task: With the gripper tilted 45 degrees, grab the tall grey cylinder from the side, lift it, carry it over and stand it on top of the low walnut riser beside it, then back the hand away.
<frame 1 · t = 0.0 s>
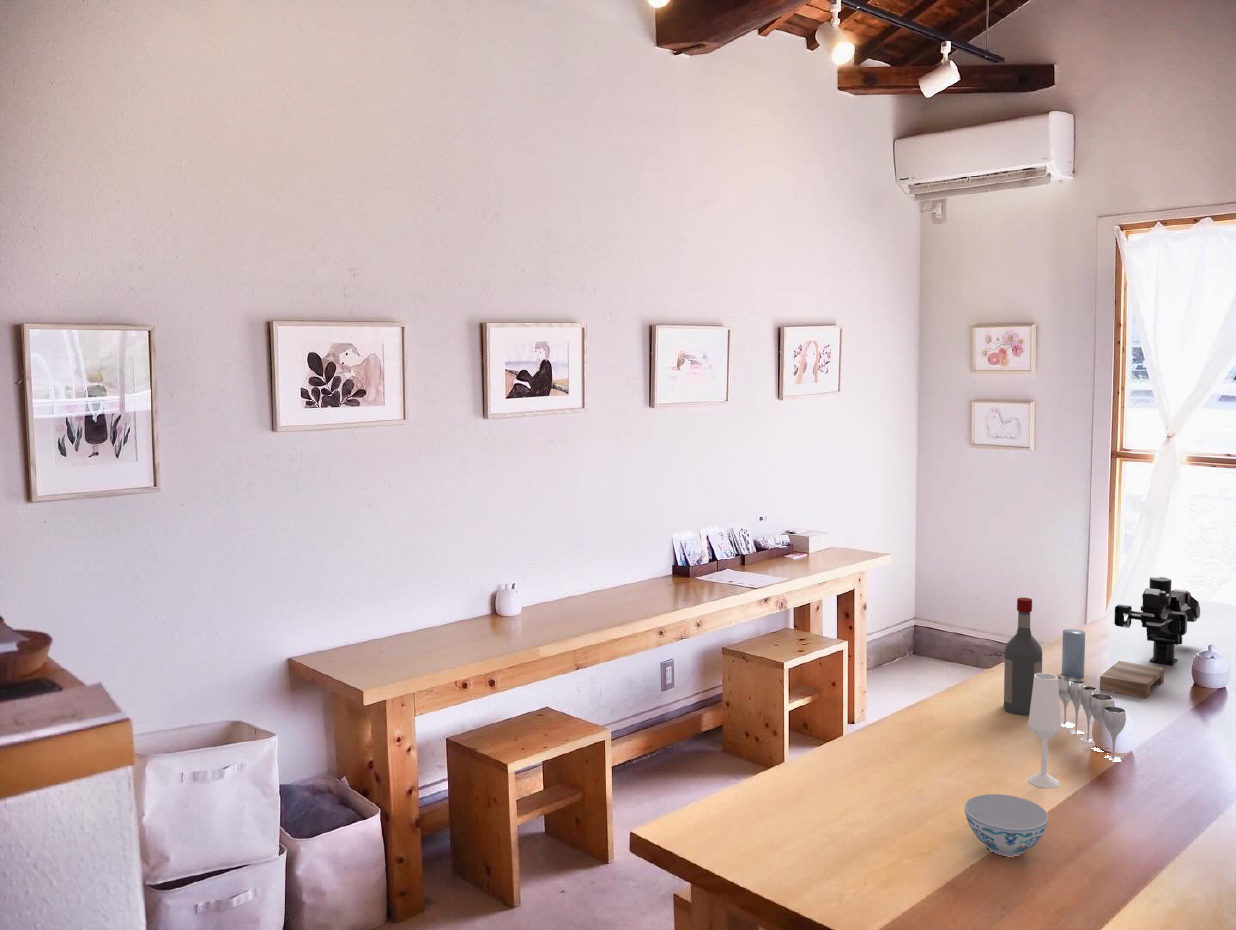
hand: (1142, 625, 290), 17 cm above the table, tool horizontal, fingers open, 9 cm apart
goblet set: (1087, 741, 250), on the table
liquor: (1022, 710, 272), on the table
champagne flute: (1043, 782, 226), on the table
chinaware: (1005, 850, 196), on the table
riser: (1132, 685, 289), on the table
tall grey cylinder: (1072, 675, 299), on the table
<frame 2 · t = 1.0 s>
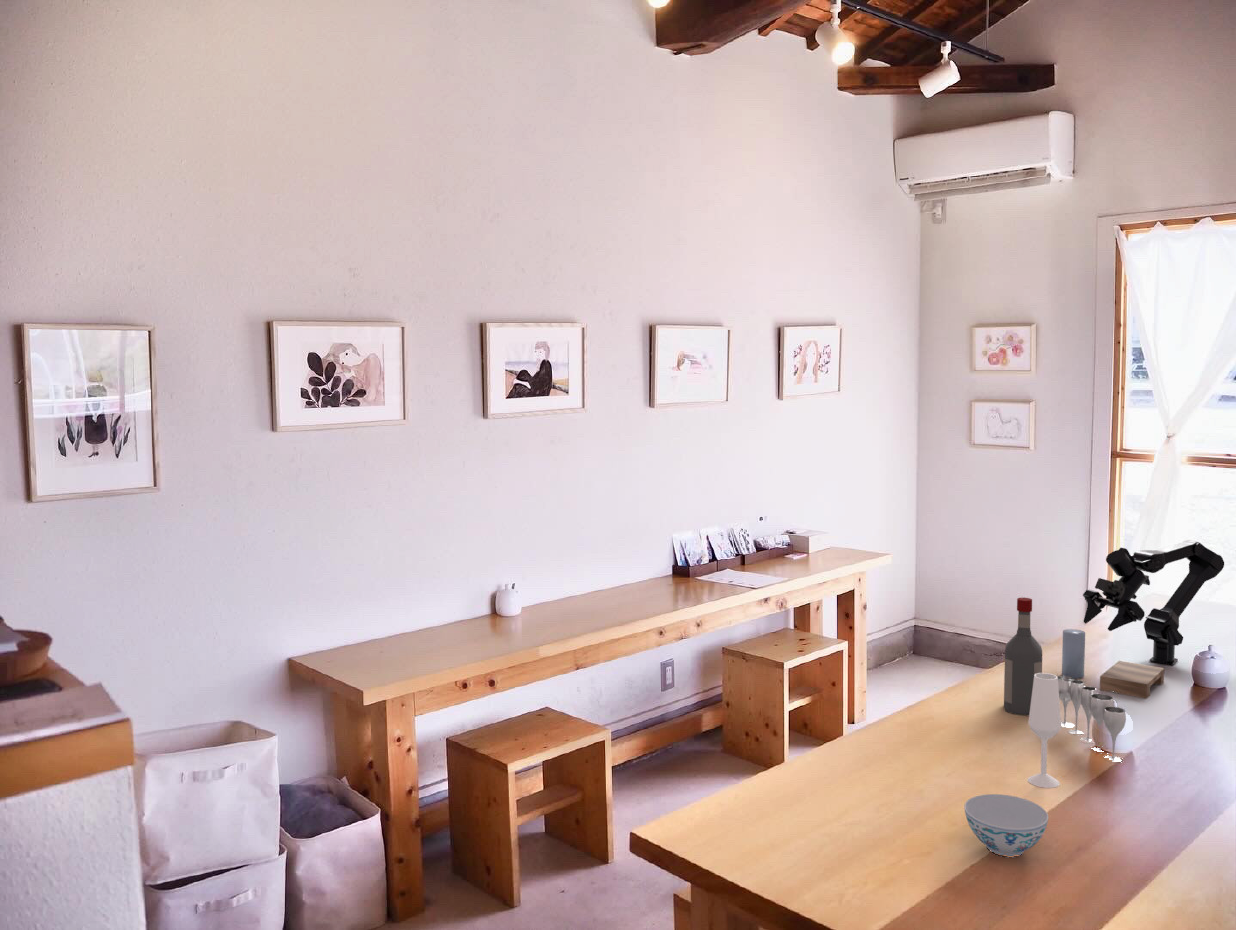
hand: (1096, 626, 300), 14 cm above the table, tool tilted 45°, fingers open, 9 cm apart
nothing on the table moved.
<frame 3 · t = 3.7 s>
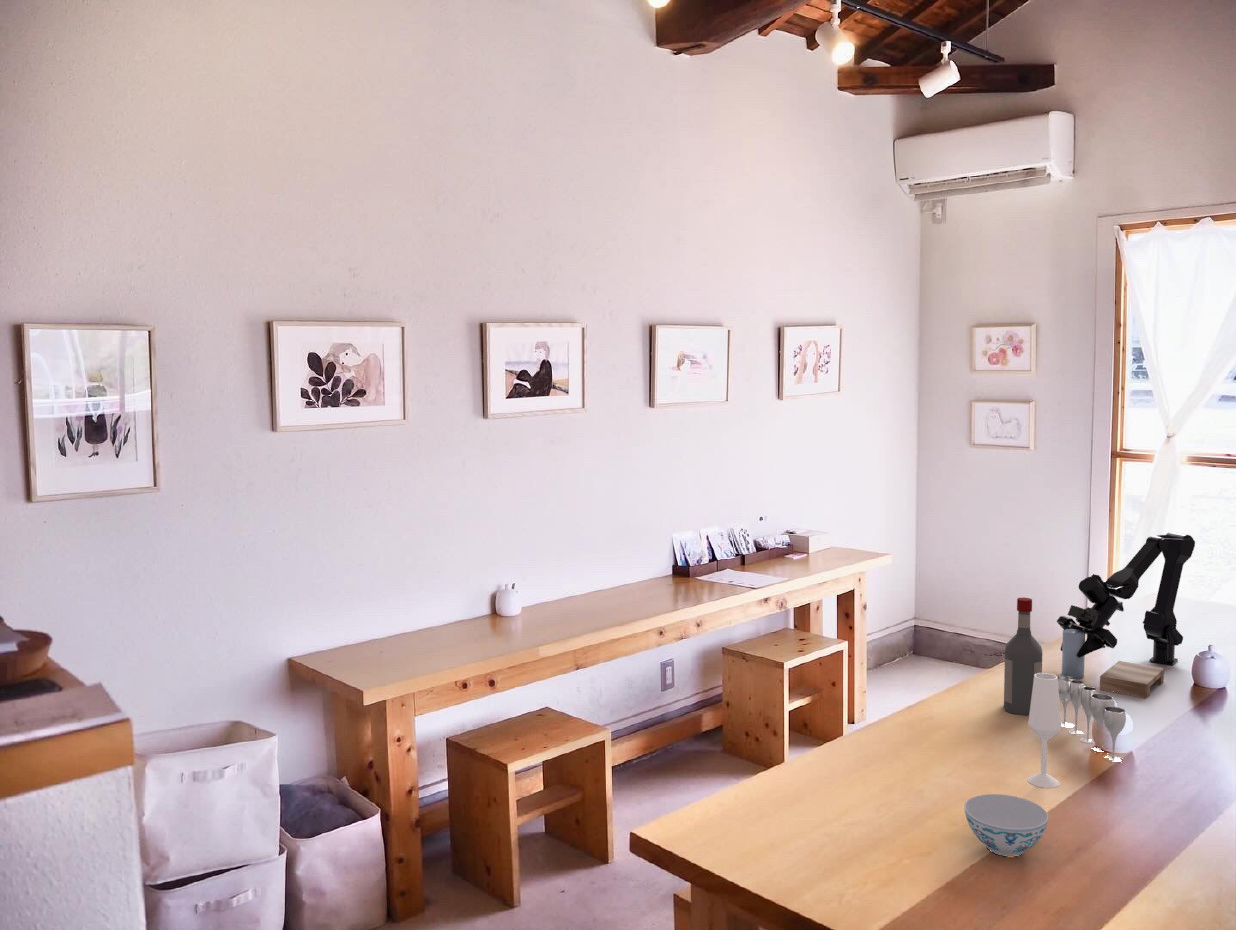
hand: (1069, 653, 298), 7 cm above the table, tool tilted 45°, fingers closed on tall grey cylinder, 6 cm apart
tall grey cylinder: (1072, 675, 299), on the table, touching gripper
everything else where it was.
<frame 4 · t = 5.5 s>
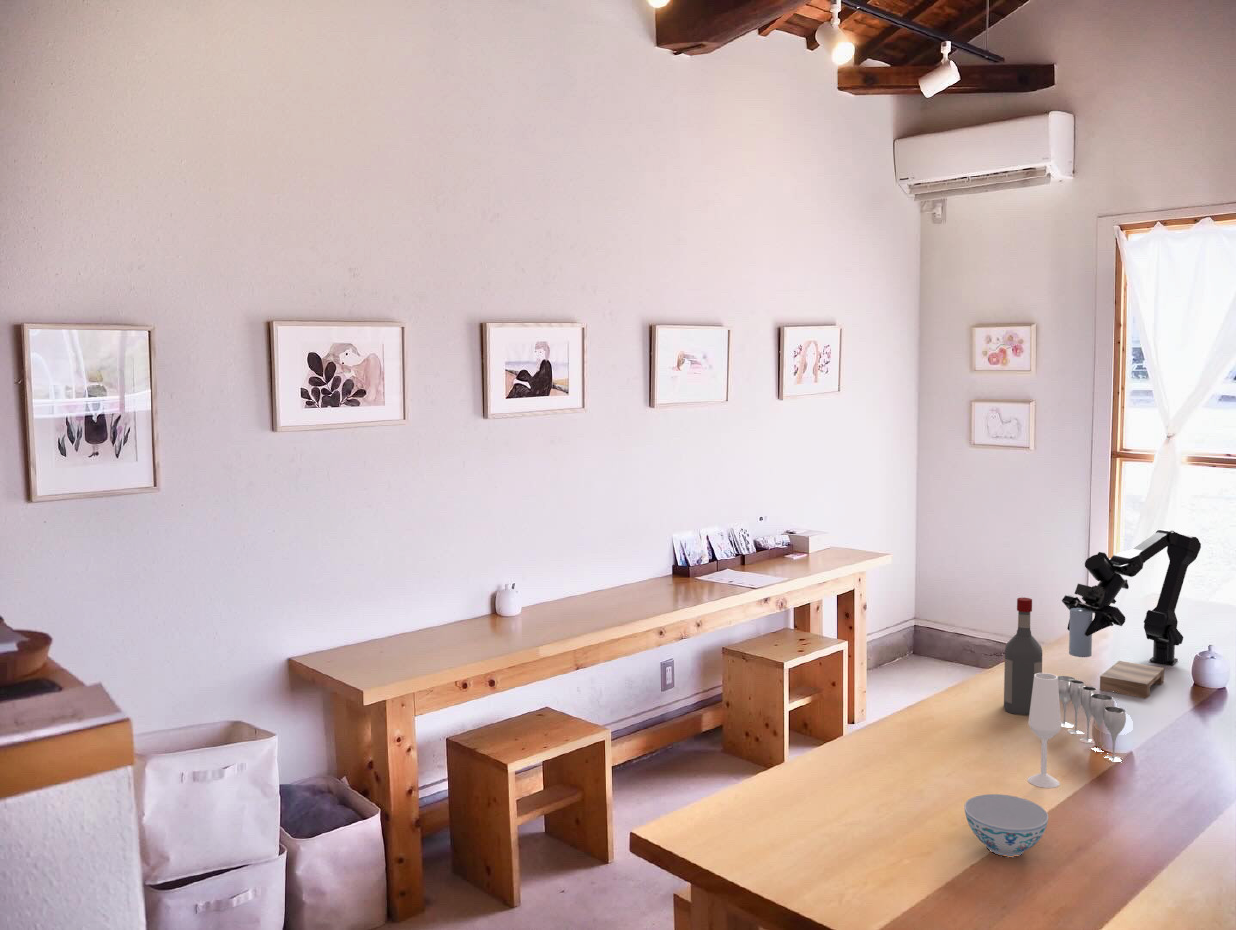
hand: (1077, 632, 296), 13 cm above the table, tool tilted 45°, fingers closed on tall grey cylinder, 6 cm apart
tall grey cylinder: (1080, 654, 297), point 7 cm above the table, touching gripper
everything else where it was.
when the fingers open (12 cm above the table, at t = 7.3 s): tall grey cylinder drops 1 cm, resting on riser.
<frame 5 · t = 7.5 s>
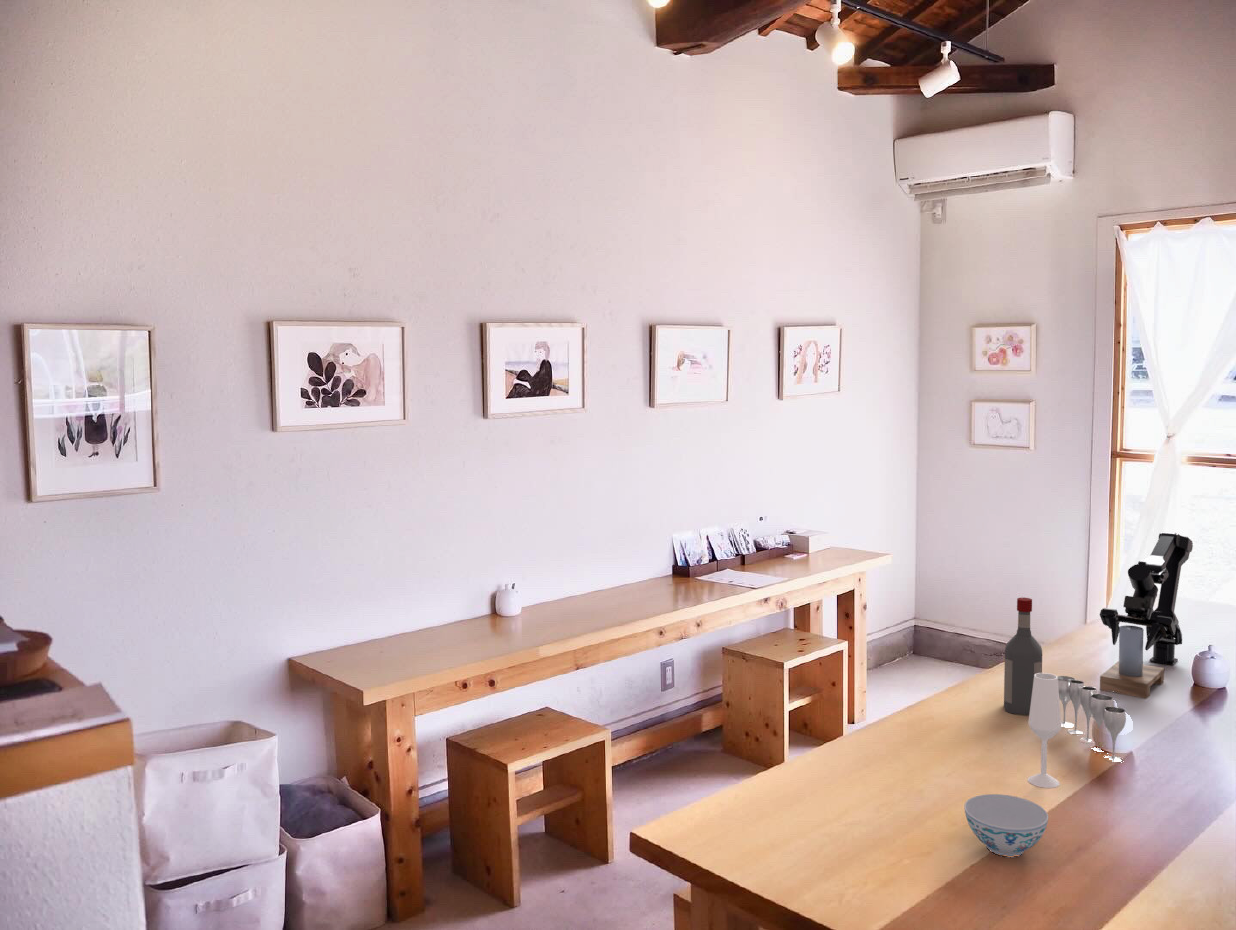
hand: (1129, 646, 285), 12 cm above the table, tool tilted 45°, fingers open, 8 cm apart
tall grey cylinder: (1130, 673, 287), point 4 cm above the table, touching riser
everything else where it was.
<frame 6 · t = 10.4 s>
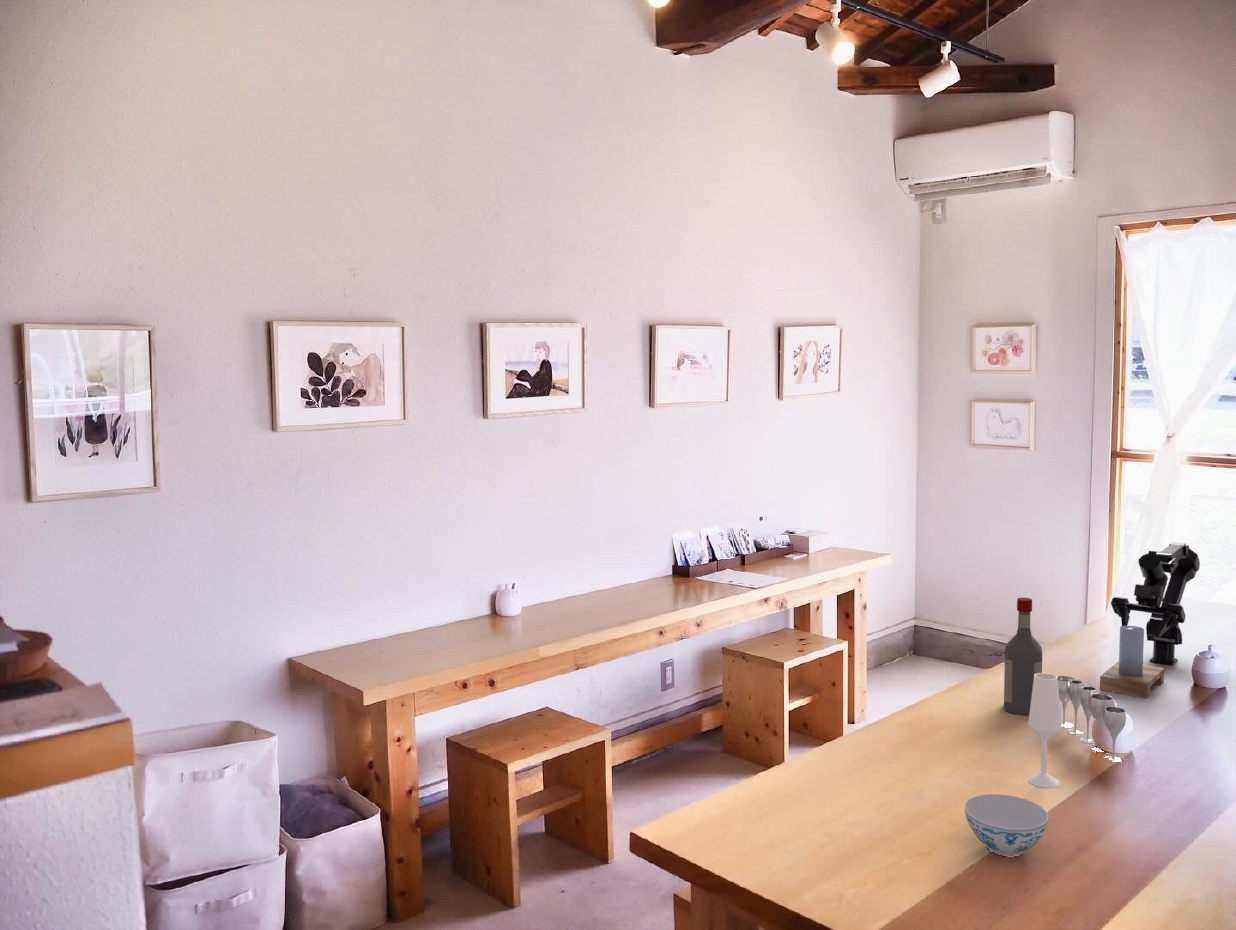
hand: (1140, 634, 292), 14 cm above the table, tool tilted 45°, fingers open, 9 cm apart
nothing on the table moved.
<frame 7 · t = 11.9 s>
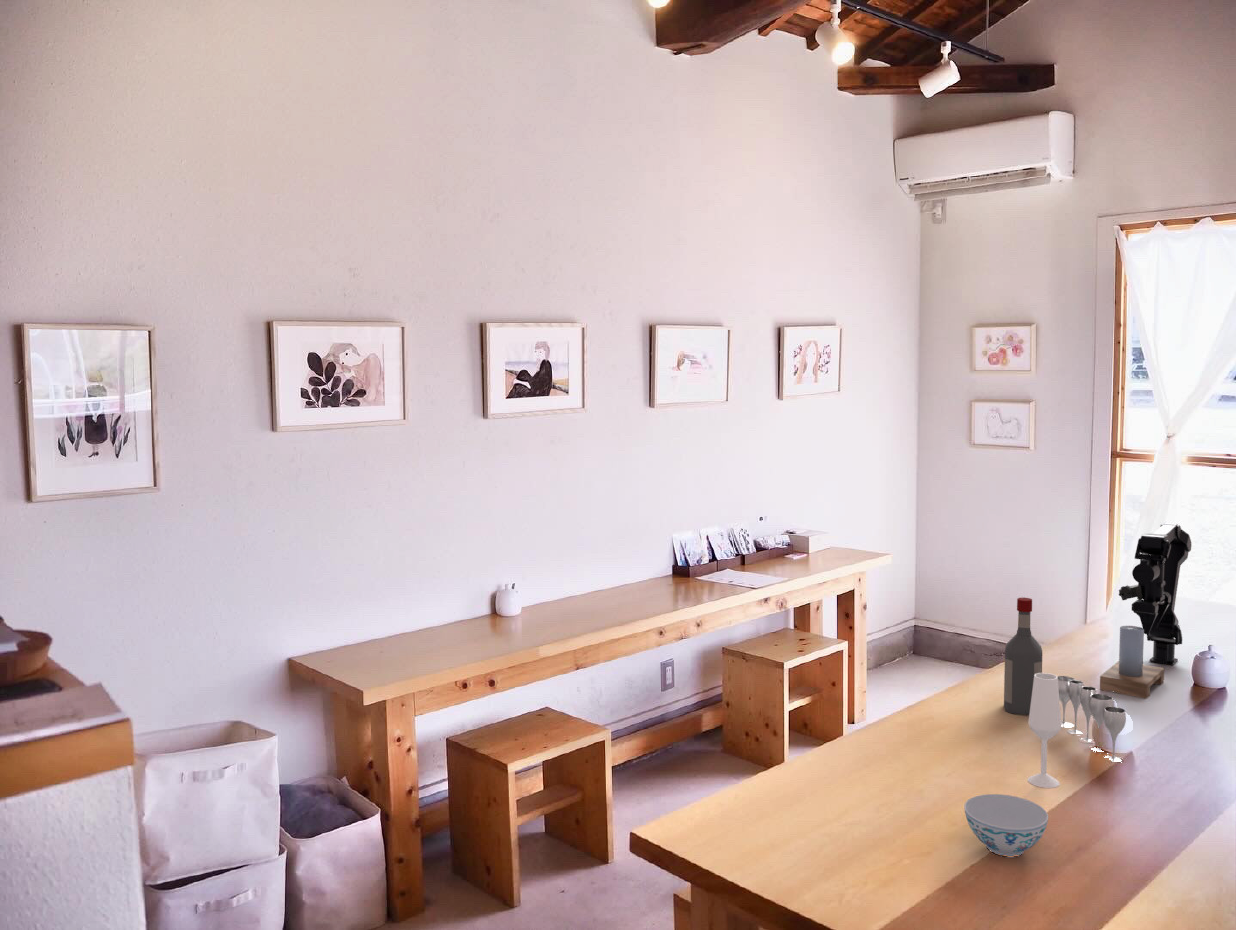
hand: (1150, 630, 297), 13 cm above the table, tool pointing down, fingers open, 9 cm apart
nothing on the table moved.
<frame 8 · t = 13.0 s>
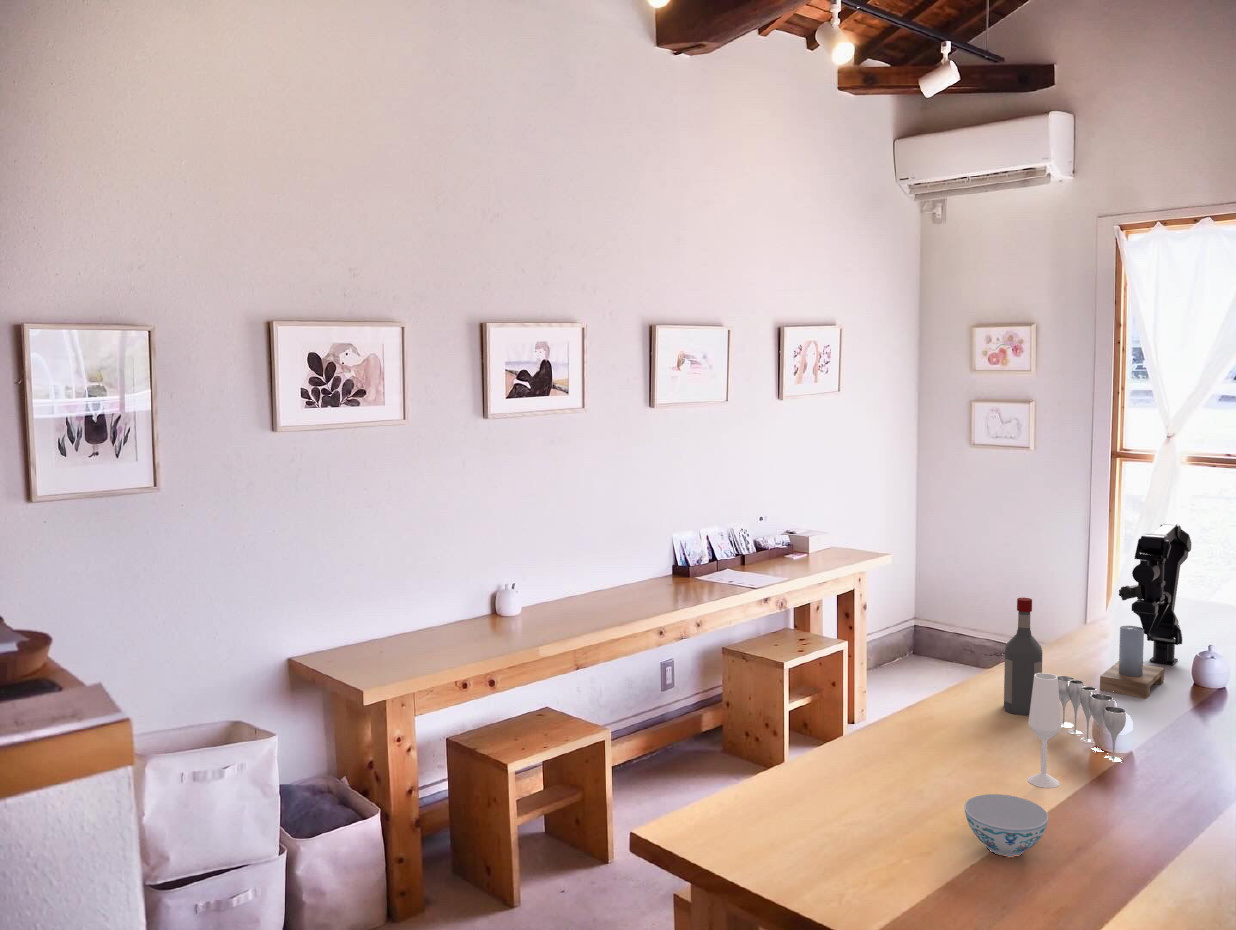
hand: (1150, 630, 297), 13 cm above the table, tool pointing down, fingers open, 9 cm apart
nothing on the table moved.
at the end: tall grey cylinder inside the target area on the riser (1.9 cm from its centre), point 4.0 cm above the riser's base; tall grey cylinder tilted 0°; the gripper is holding nothing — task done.
